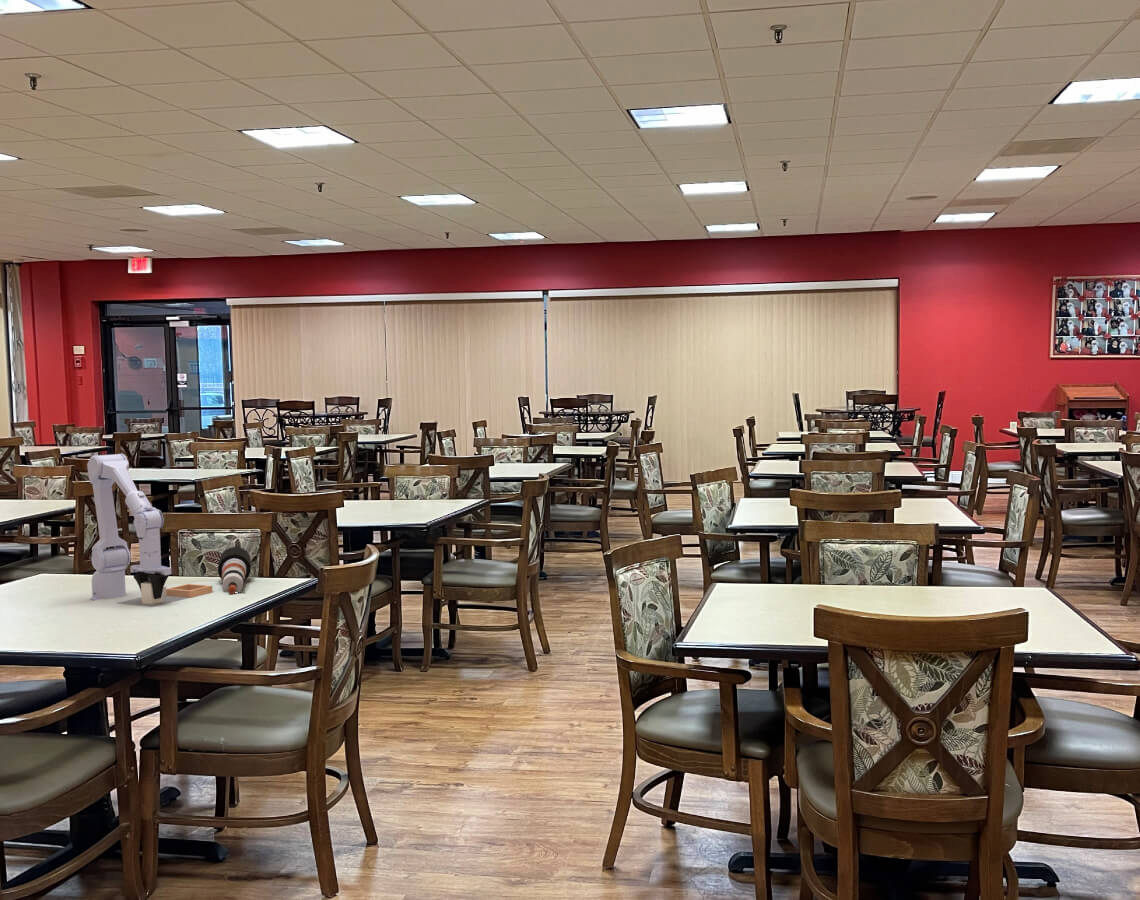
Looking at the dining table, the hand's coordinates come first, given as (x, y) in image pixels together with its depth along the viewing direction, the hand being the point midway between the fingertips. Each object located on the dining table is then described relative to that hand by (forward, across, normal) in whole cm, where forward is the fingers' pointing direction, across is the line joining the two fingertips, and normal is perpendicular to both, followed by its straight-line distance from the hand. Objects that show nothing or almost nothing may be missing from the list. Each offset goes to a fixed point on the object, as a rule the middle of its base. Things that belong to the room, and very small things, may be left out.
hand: (152, 597), depth 300 cm
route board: (+2, -2, +8) cm, 8 cm away
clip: (+2, -6, +7) cm, 10 cm away
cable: (+3, +2, +31) cm, 31 cm away
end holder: (+2, 0, +14) cm, 14 cm away
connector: (+1, 0, 0) cm, 1 cm away
